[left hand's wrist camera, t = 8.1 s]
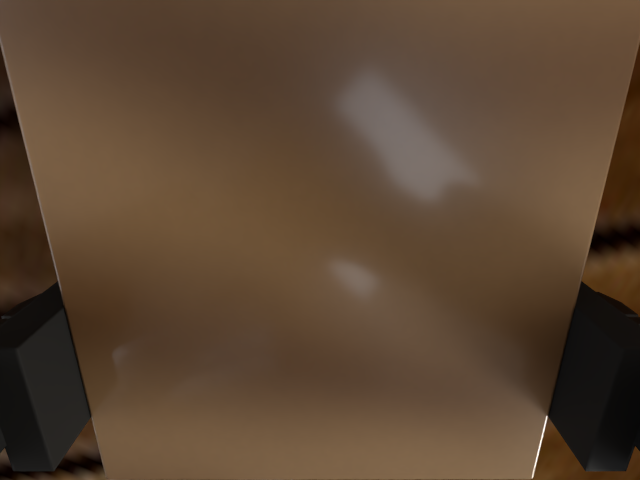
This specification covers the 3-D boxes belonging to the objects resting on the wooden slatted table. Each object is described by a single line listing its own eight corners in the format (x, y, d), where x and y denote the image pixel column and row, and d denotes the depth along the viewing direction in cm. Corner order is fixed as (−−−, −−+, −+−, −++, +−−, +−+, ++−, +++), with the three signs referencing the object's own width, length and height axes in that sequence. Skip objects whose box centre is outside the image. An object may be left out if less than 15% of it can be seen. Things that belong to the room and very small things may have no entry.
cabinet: (141, -290, 12) (-330, -1283, 3) (497, -289, 12) (966, -1274, 3) (205, 295, 18) (104, 481, 10) (433, 295, 18) (533, 480, 10)
